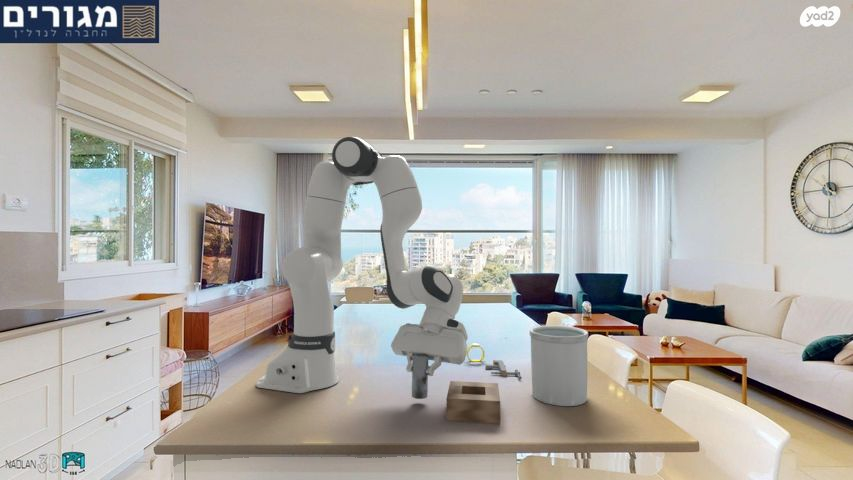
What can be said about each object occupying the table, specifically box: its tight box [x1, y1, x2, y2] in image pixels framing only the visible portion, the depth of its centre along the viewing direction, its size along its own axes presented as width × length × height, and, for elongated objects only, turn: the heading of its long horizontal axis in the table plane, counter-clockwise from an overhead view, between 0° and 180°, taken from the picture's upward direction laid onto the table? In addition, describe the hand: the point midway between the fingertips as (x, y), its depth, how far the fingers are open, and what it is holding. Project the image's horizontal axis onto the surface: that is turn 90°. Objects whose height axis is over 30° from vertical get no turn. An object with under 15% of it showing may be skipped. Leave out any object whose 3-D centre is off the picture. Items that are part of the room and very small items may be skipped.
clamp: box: [485, 359, 522, 380], centre depth 128 cm, size 15×2×10 cm
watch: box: [466, 342, 485, 363], centre depth 140 cm, size 6×3×6 cm, turn 93°
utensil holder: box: [529, 324, 589, 407], centre depth 108 cm, size 15×15×18 cm
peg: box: [411, 354, 429, 400], centre depth 103 cm, size 4×4×10 cm
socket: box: [445, 380, 501, 425], centre depth 98 cm, size 12×12×5 cm
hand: (419, 372), depth 102 cm, fingers closed on peg, 4 cm apart
